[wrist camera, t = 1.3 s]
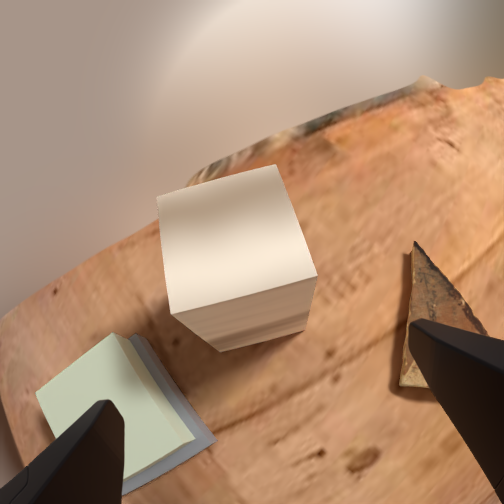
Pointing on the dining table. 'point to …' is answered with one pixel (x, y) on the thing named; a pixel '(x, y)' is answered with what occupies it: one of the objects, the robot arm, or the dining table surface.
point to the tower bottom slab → (182, 409)
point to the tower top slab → (117, 402)
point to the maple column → (236, 259)
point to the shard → (433, 309)
